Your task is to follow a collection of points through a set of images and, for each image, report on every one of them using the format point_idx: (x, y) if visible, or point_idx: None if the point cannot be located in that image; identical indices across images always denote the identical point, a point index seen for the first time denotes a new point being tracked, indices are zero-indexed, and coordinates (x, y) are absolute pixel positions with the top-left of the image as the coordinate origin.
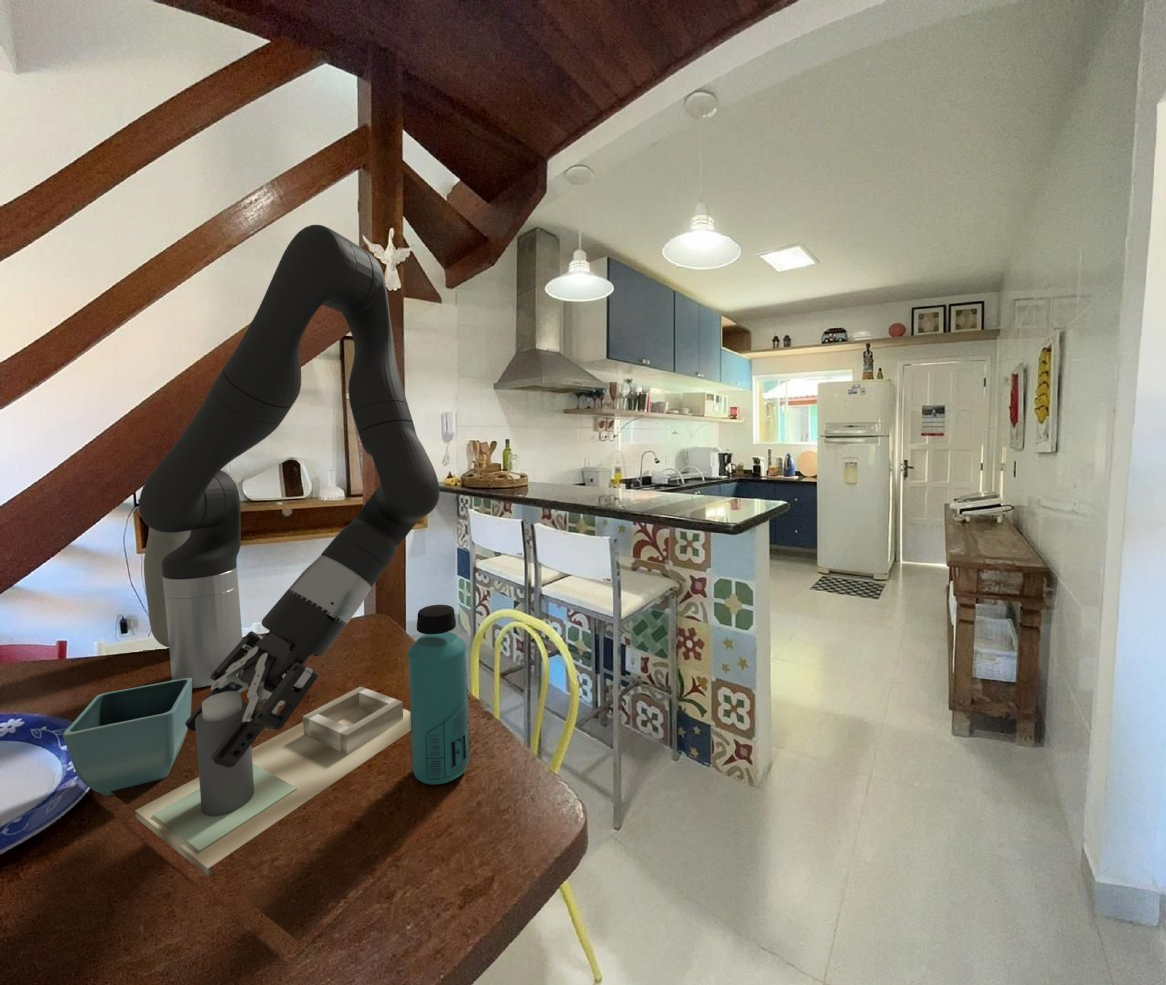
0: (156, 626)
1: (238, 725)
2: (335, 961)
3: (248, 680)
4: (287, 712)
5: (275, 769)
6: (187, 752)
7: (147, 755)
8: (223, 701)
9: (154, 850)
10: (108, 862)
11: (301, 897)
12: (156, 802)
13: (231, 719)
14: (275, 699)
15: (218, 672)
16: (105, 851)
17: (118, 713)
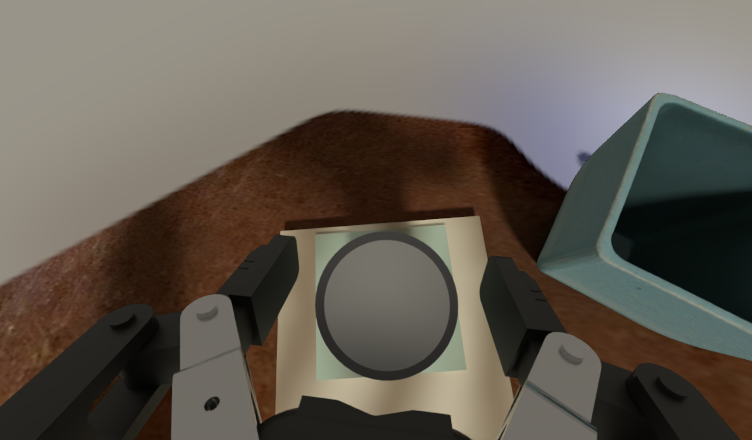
0: None
1: (242, 286)
2: (66, 261)
3: (364, 426)
4: (96, 411)
5: (405, 388)
6: (611, 322)
7: (557, 231)
8: (362, 297)
9: (386, 213)
10: (410, 180)
11: (158, 280)
12: (475, 237)
13: (322, 299)
14: (21, 390)
15: (658, 399)
16: (434, 182)
17: None
